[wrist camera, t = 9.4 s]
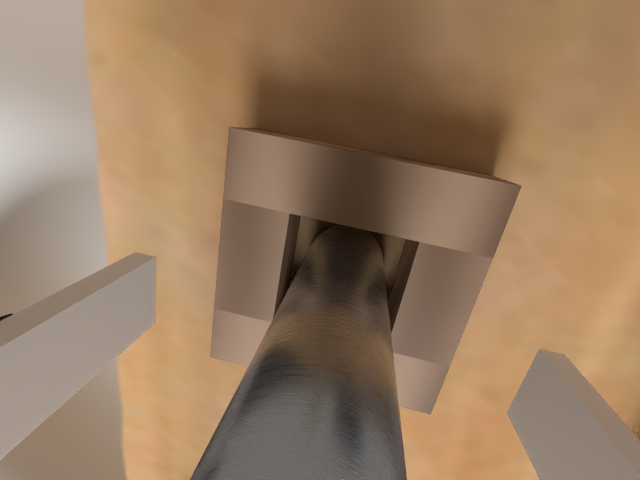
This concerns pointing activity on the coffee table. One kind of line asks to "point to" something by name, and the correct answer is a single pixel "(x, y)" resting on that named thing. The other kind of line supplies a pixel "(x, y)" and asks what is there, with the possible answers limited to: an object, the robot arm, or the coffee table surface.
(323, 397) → the metal peg
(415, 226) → the wooden square hole block
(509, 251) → the coffee table surface
